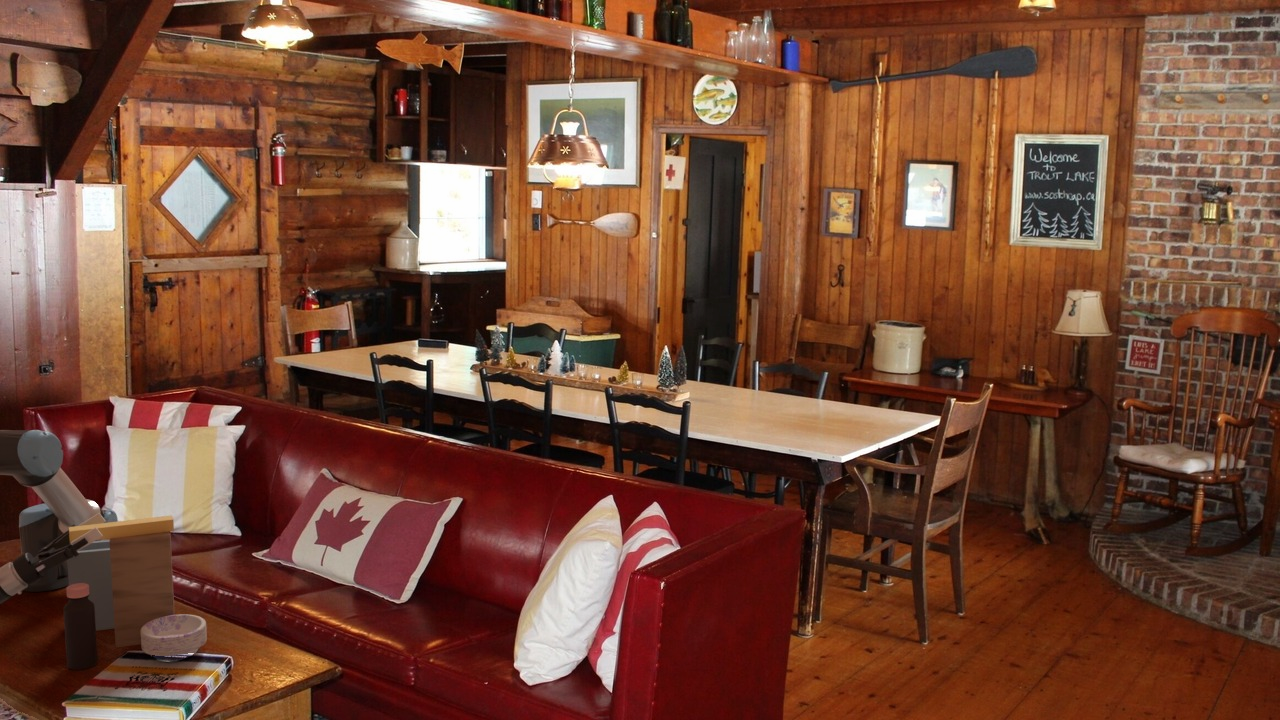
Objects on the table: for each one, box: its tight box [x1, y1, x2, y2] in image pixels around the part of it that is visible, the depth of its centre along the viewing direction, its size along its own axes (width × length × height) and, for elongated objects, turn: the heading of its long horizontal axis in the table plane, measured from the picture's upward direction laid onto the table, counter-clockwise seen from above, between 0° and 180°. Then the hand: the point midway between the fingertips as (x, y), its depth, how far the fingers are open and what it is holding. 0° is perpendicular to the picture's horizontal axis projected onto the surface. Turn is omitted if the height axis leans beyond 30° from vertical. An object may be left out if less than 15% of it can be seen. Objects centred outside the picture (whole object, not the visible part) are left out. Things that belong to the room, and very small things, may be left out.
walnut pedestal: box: [109, 531, 176, 648], centre depth 301 cm, size 8×14×28 cm, turn 111°
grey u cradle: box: [67, 540, 115, 632], centre depth 311 cm, size 9×16×22 cm, turn 111°
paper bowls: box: [140, 613, 208, 656], centre depth 293 cm, size 15×15×8 cm
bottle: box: [63, 583, 99, 671], centre depth 285 cm, size 7×7×20 cm
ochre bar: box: [69, 515, 175, 543], centre depth 298 cm, size 4×24×3 cm, turn 118°
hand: (101, 524), depth 295 cm, fingers open, 12 cm apart
